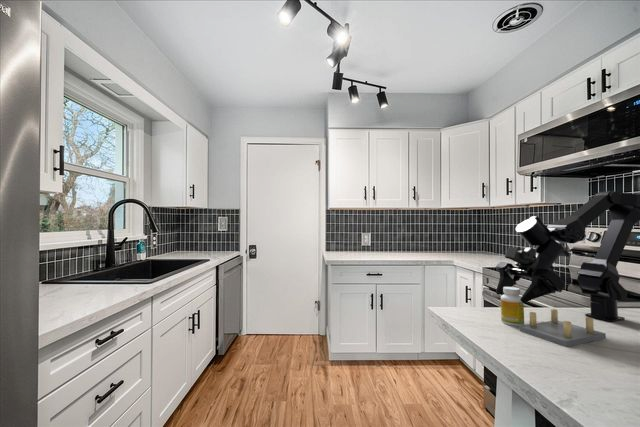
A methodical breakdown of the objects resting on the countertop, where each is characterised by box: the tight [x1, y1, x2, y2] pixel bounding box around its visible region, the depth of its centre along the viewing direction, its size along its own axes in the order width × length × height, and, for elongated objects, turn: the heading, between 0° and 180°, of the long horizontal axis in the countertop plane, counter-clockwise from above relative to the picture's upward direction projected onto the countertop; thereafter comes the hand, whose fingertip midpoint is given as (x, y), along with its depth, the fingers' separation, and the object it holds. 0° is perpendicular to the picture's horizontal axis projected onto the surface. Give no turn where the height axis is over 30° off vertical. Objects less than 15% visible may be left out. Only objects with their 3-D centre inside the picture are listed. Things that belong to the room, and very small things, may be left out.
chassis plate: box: [518, 308, 607, 348], centre depth 75 cm, size 14×11×5 cm
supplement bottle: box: [500, 286, 525, 327], centre depth 84 cm, size 5×5×10 cm
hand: (508, 297), depth 84 cm, fingers open, 9 cm apart
